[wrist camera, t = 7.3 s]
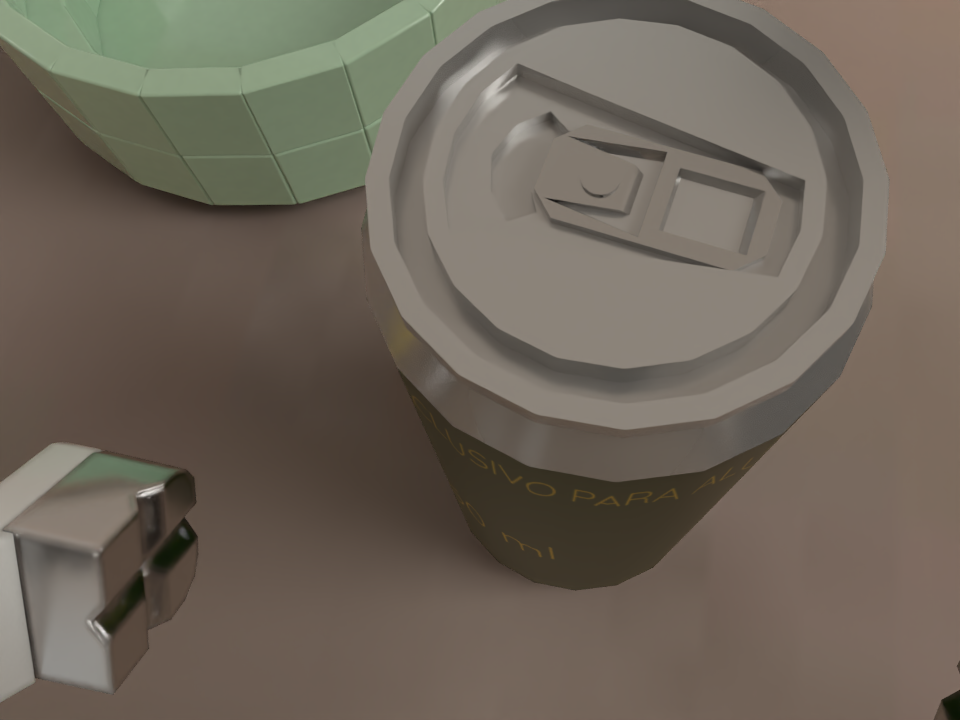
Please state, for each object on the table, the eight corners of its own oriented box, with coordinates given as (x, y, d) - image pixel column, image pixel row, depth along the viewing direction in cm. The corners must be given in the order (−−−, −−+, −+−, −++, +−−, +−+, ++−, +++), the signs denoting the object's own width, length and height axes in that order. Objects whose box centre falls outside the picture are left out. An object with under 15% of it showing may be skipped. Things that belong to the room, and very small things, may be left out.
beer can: (725, 398, 20) (966, 27, 9) (657, 631, 18) (843, 547, 7) (502, 327, 21) (458, -91, 10) (418, 542, 19) (247, 343, 8)
